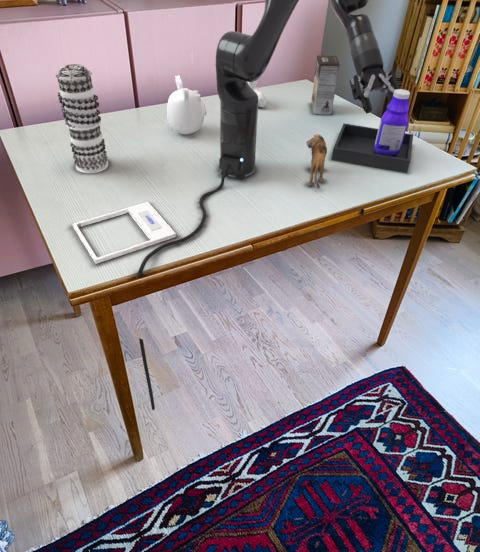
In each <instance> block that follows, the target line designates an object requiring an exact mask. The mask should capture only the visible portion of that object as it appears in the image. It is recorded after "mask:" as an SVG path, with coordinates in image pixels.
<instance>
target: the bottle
mask: <svg viewBox="0 0 480 552" xmlns="http://www.w3.org/2000/svg"><path fill="white" fill-rule="evenodd" d="M410 96H411V92H410V91H409V90H407V89H404V88H403V89H402V88H400V89H396V90H395V91H394V94H393V98H392V100H391V102H390V103H388V104H387V105H386V110H385V111H384V112H383V114H382V115H381V118H380V121H379V125H378V128H377V129H378V133H377V137H376V141H375V146H374V147H375V152H376V153H377V154H379V155H385V156H396V155H397V154H398V153H399V151H400V149H401V145H402V142H403V139H404V135H405V133H406V131H407V128H408V125H409V116H408V112H409V111H410V107H409V99H410Z"/></svg>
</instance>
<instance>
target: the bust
mask: <svg viewBox="0 0 480 552" xmlns="http://www.w3.org/2000/svg"><path fill="white" fill-rule="evenodd" d="M258 82H259V79H258V80H256V81H254V82H247V83H248V84H249V86H250V87H251V88H252V89H253V90H254V91H255V92H256V93H257V95H258V108H264V107H265V106H266V104H267V103H266V101H267V100H266V96H265V94H264V92H262V91H261V90H260V88H259V87H258V86H257V84H258Z"/></svg>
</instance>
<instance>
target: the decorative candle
mask: <svg viewBox="0 0 480 552" xmlns="http://www.w3.org/2000/svg"><path fill="white" fill-rule="evenodd" d="M92 75H93V72H92V71H90V70H88V68H87V67H85V66H84V65H82V64H75V63H74V64H73V63H72V64H66V65H63V66H62V67H60V69H59V70H58V72H57V73H56V74H55V78H57V83H58V87H59V89H58V90H59V92H57V97H58V103H59V104H61V106H60V108H61V112H62V117H63V118H64V119H65V120H64V122H65V123H64V124H65V126H66V127H67V128H68V131H69V139H70V144H69V146H70V147H71V152H72V158H73V160H74V162H73V163H74V165H75V170H77V171H78V172H80V173H81V174H97V173H100V172H103V171H105V170H107V168H108V167H109V160H108V158H109V157H108V154H107V150H106V144H105V138H103V132H102V131H101V124H102V117H101V116H100V114H101V111H100V109H98V107H99V106H100V102H98V100H99V96H98V95H96V94H95V88H94V85H93V81H92Z"/></svg>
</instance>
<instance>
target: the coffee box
mask: <svg viewBox="0 0 480 552" xmlns="http://www.w3.org/2000/svg"><path fill="white" fill-rule="evenodd" d="M340 66H341V65H340V62H339V59H338V57H337V55H324V54H323V55H322V54H321V55H319V54H318V55H316V62H315V70H314V78H313V84H312V85H313V86H312V93H311V101H310V105H311V111H312V114H313V115H330V116H331V115H332V113H333V108H334V101H335V94H336V90H337V89H336V88H337V84H338V83H337V82H338V76H339V70H340Z"/></svg>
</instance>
